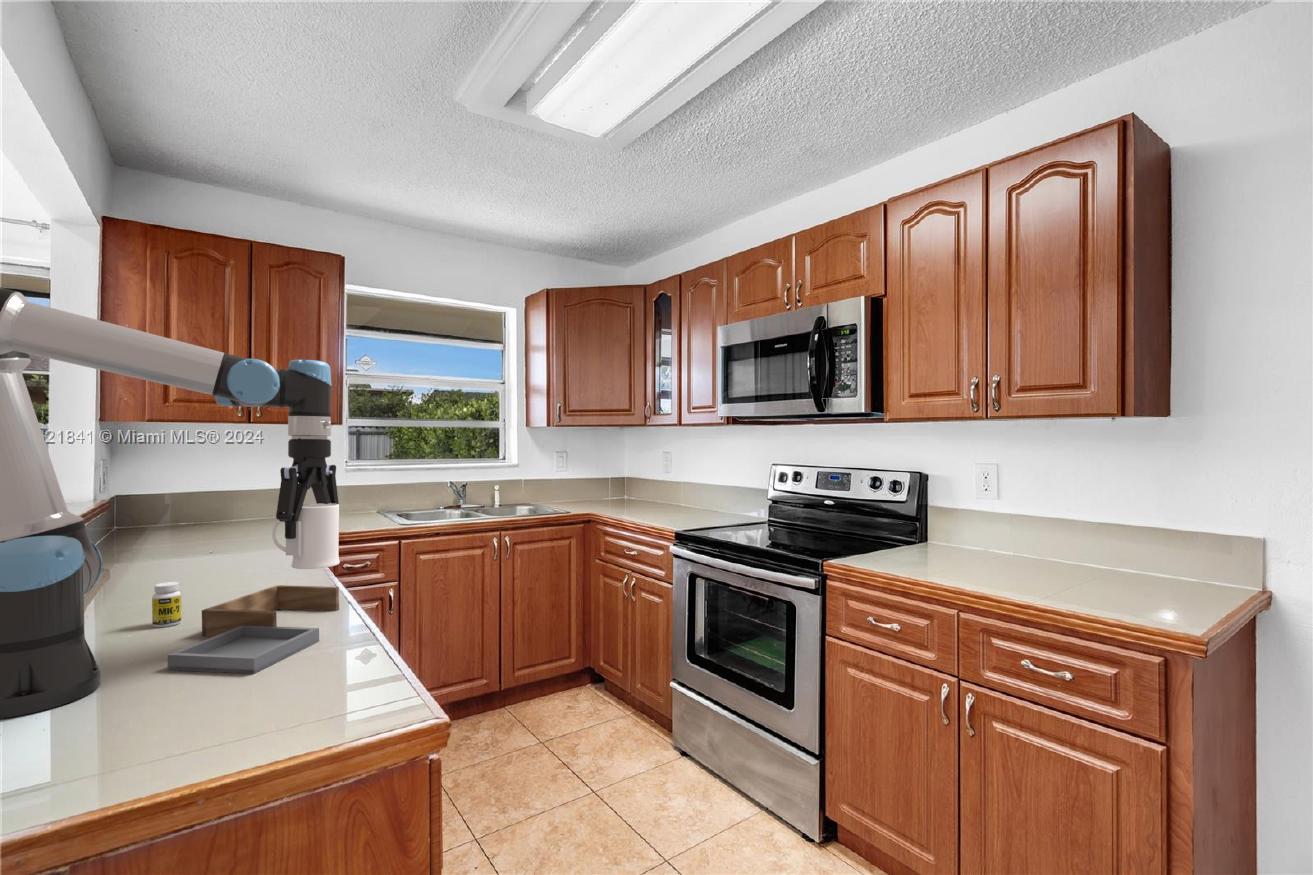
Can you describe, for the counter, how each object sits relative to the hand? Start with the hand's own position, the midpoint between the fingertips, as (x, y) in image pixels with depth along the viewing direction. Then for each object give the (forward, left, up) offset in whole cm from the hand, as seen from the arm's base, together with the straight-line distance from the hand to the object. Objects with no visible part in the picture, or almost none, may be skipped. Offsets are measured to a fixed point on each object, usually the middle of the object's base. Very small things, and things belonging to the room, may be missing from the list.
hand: (309, 550), depth 127 cm
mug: (-1, 0, -3) cm, 3 cm away
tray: (-15, +1, -16) cm, 22 cm away
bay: (+4, +10, -16) cm, 19 cm away
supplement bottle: (0, +32, -16) cm, 36 cm away
